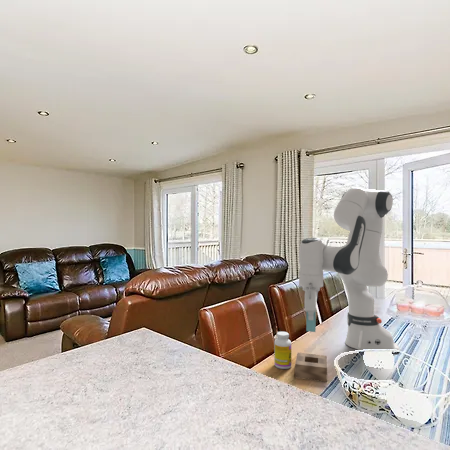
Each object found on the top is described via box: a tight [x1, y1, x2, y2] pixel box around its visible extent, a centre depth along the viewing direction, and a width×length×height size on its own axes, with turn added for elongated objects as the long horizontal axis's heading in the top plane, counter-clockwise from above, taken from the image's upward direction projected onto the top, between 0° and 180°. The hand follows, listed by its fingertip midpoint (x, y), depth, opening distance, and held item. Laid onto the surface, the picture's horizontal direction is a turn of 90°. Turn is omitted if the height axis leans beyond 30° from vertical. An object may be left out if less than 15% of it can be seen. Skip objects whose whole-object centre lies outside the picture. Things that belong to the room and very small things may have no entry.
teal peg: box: [305, 298, 317, 333], centre depth 118 cm, size 3×3×12 cm
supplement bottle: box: [273, 331, 292, 370], centre depth 124 cm, size 7×7×13 cm
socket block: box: [294, 352, 328, 383], centre depth 118 cm, size 11×11×5 cm
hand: (311, 318), depth 118 cm, fingers closed on teal peg, 3 cm apart
